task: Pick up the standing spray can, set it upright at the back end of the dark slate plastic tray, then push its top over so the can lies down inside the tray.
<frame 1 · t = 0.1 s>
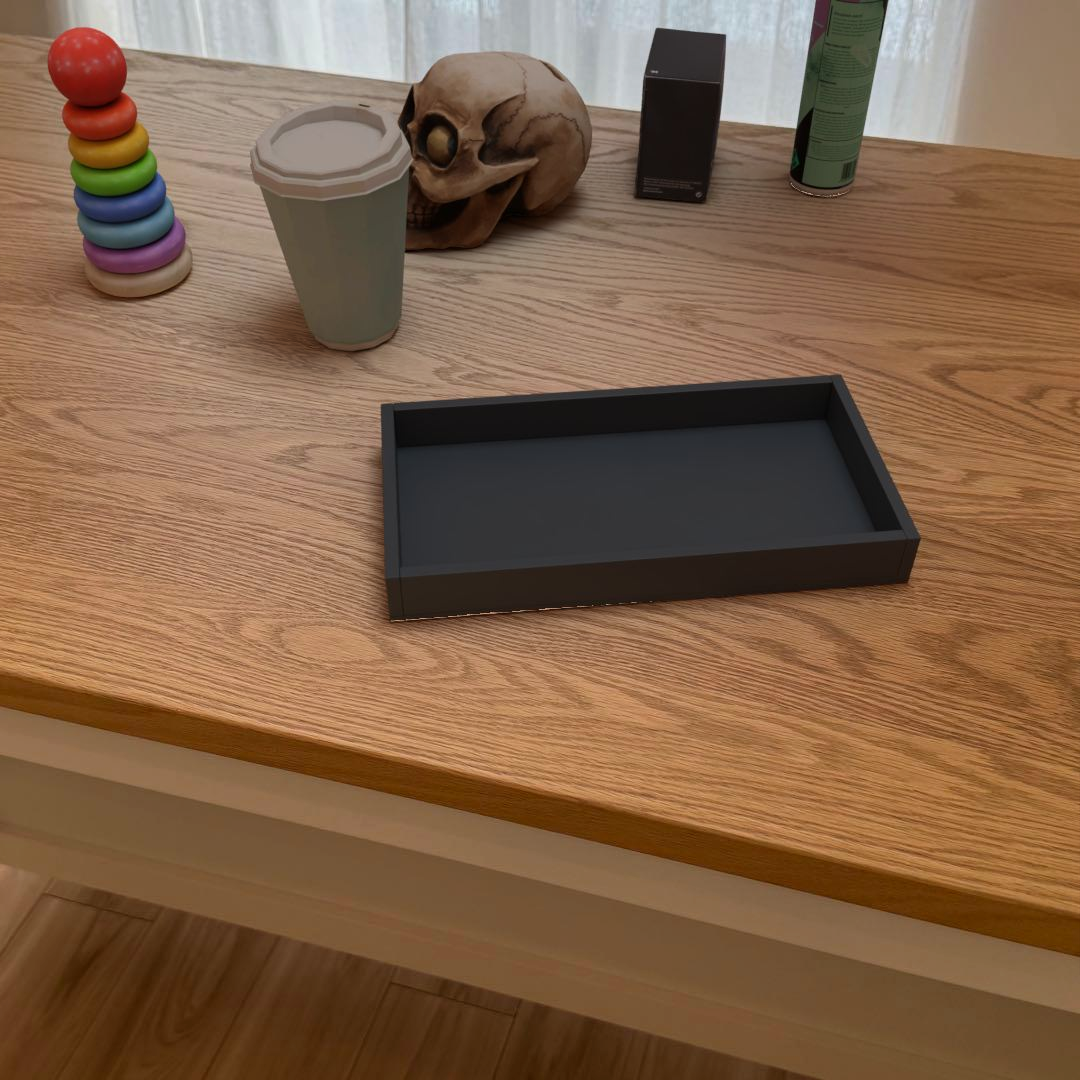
small box: (676, 175, 108), on the table
stacking toy: (142, 276, 96), on the table
disposable coffee cup: (351, 329, 90), on the table
spray can: (820, 184, 107), on the table
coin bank: (473, 214, 103), on the table
tray: (631, 510, 76), on the table
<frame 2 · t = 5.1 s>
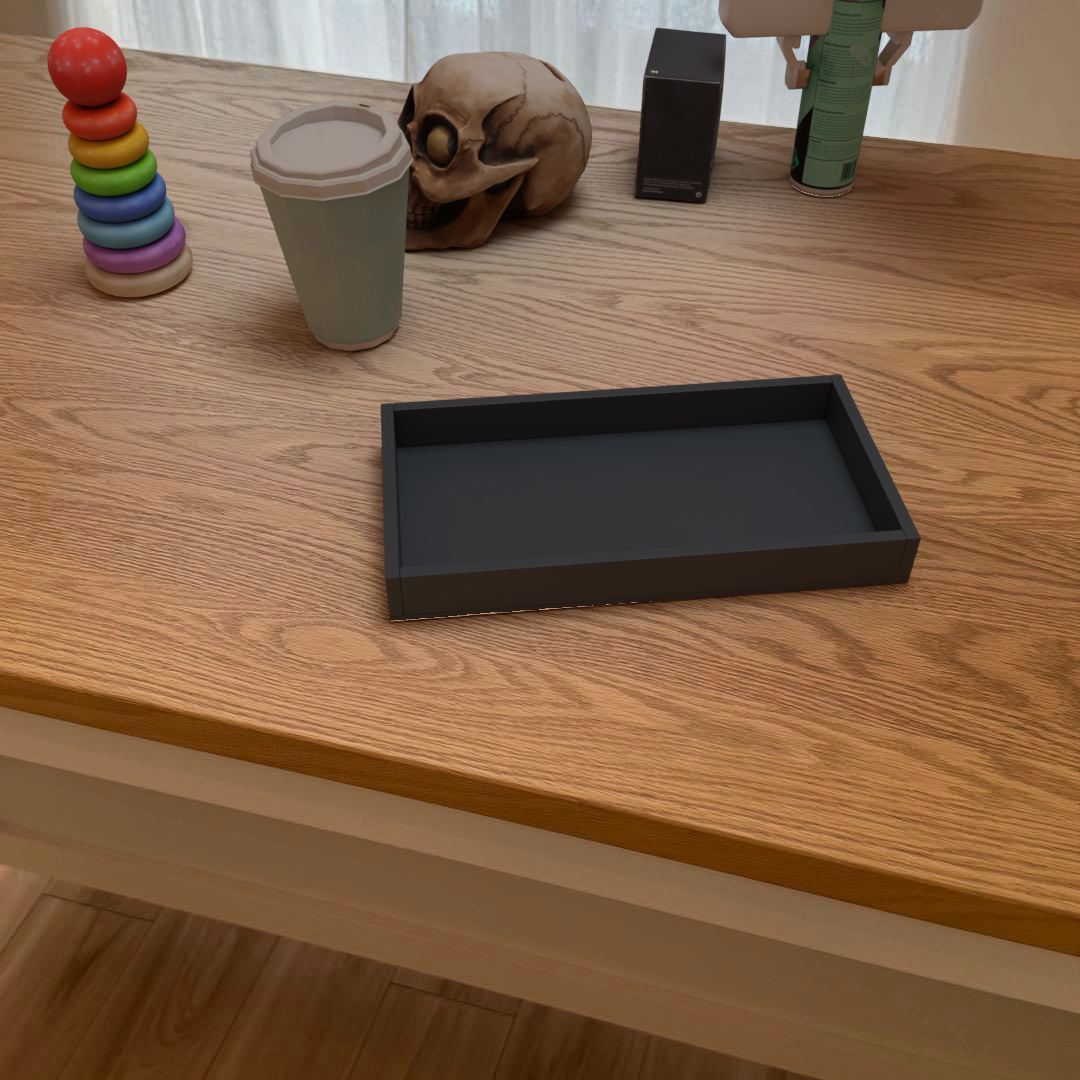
hand: (835, 85, 101), 8 cm above the table, tool pointing down, fingers closed on spray can, 5 cm apart
spray can: (820, 185, 107), on the table, touching arm, gripper
everything else where it was.
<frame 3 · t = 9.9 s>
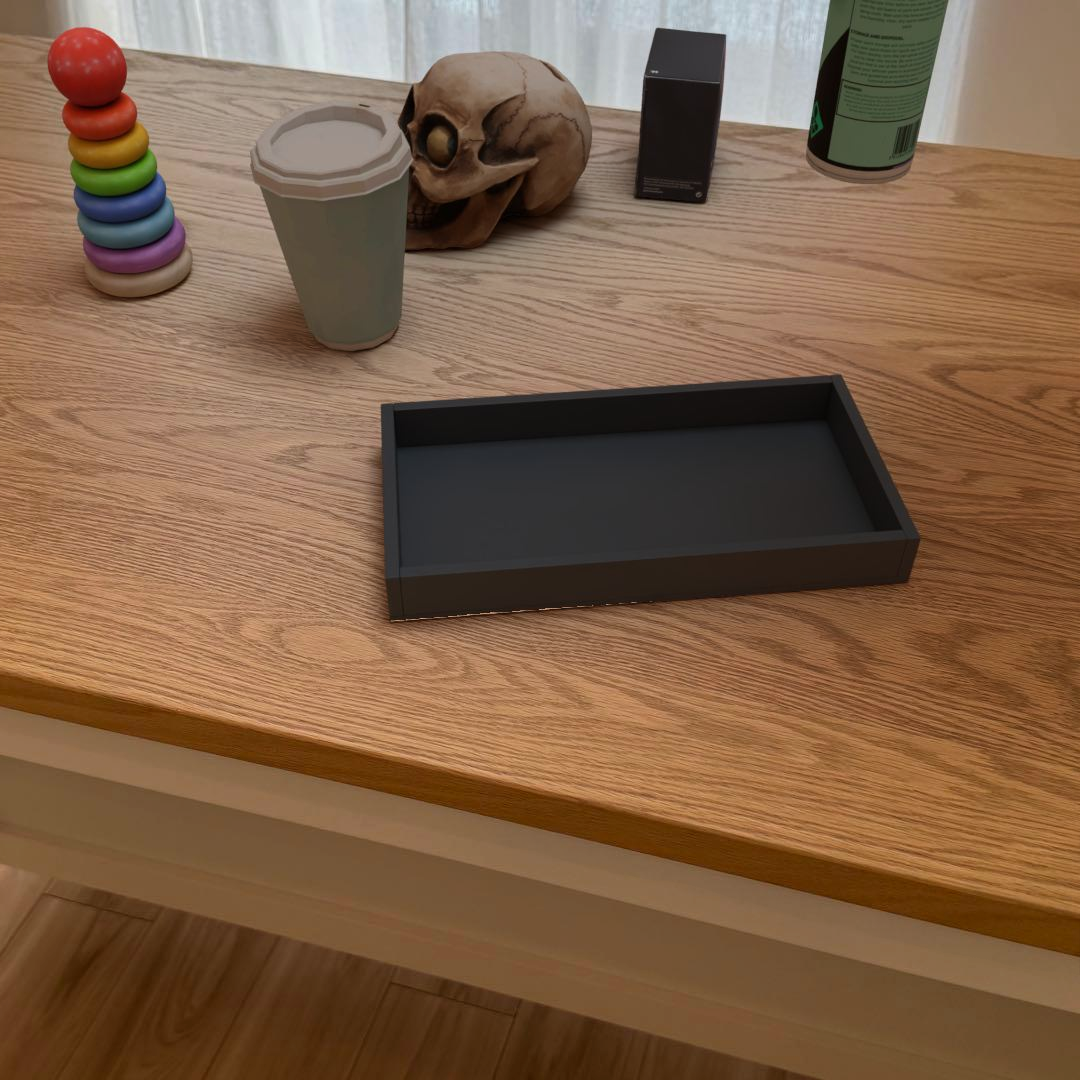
spray can: (857, 164, 65), point 20 cm above the table, touching arm, gripper
everything else where it was.
when the fingers open (9 cm above the table, at t = 14.9 s): spray can stays where it is, resting on tray.
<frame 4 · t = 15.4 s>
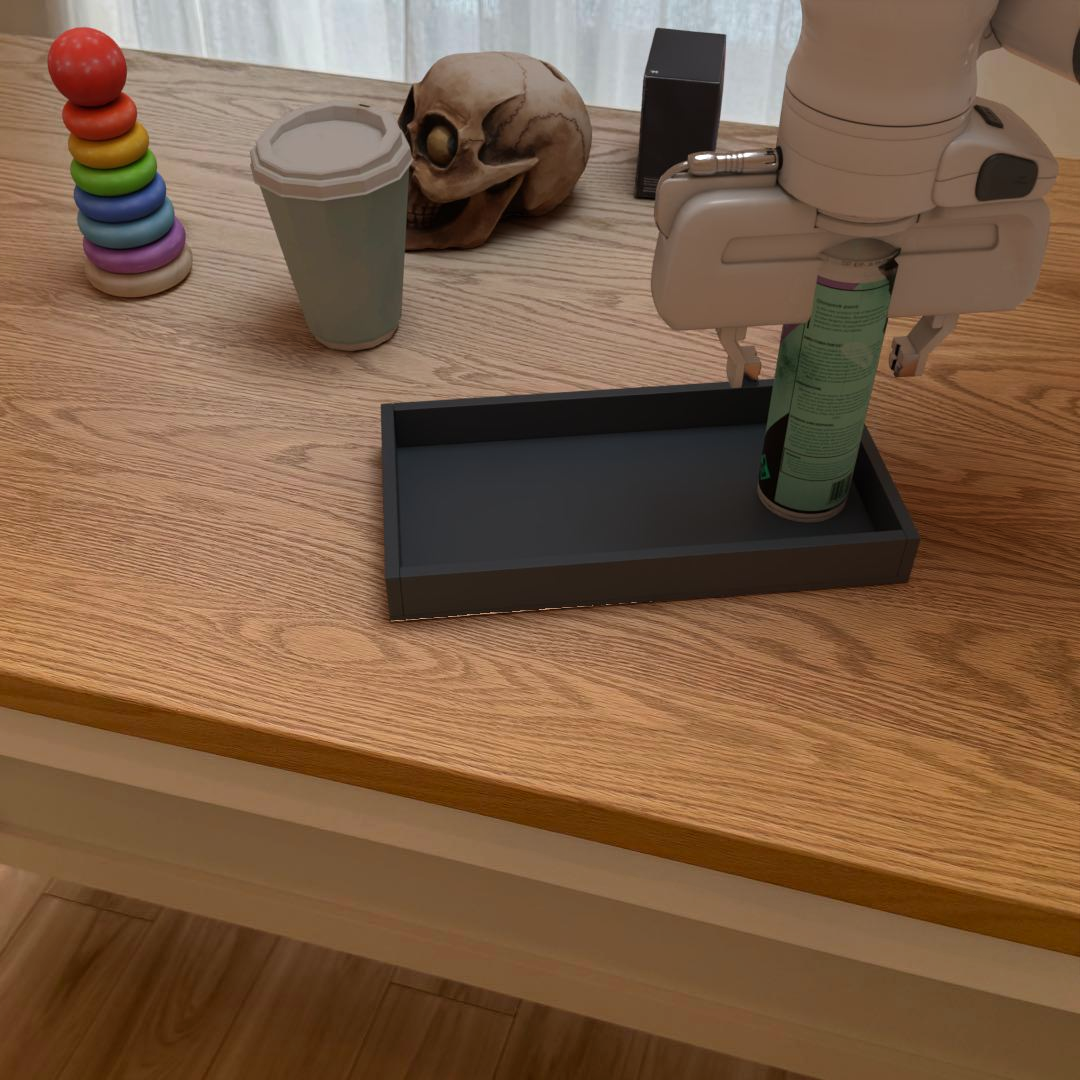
hand: (823, 376, 70), 9 cm above the table, tool pointing down, fingers open, 8 cm apart
spray can: (801, 495, 76), resting on tray
everything else where it was.
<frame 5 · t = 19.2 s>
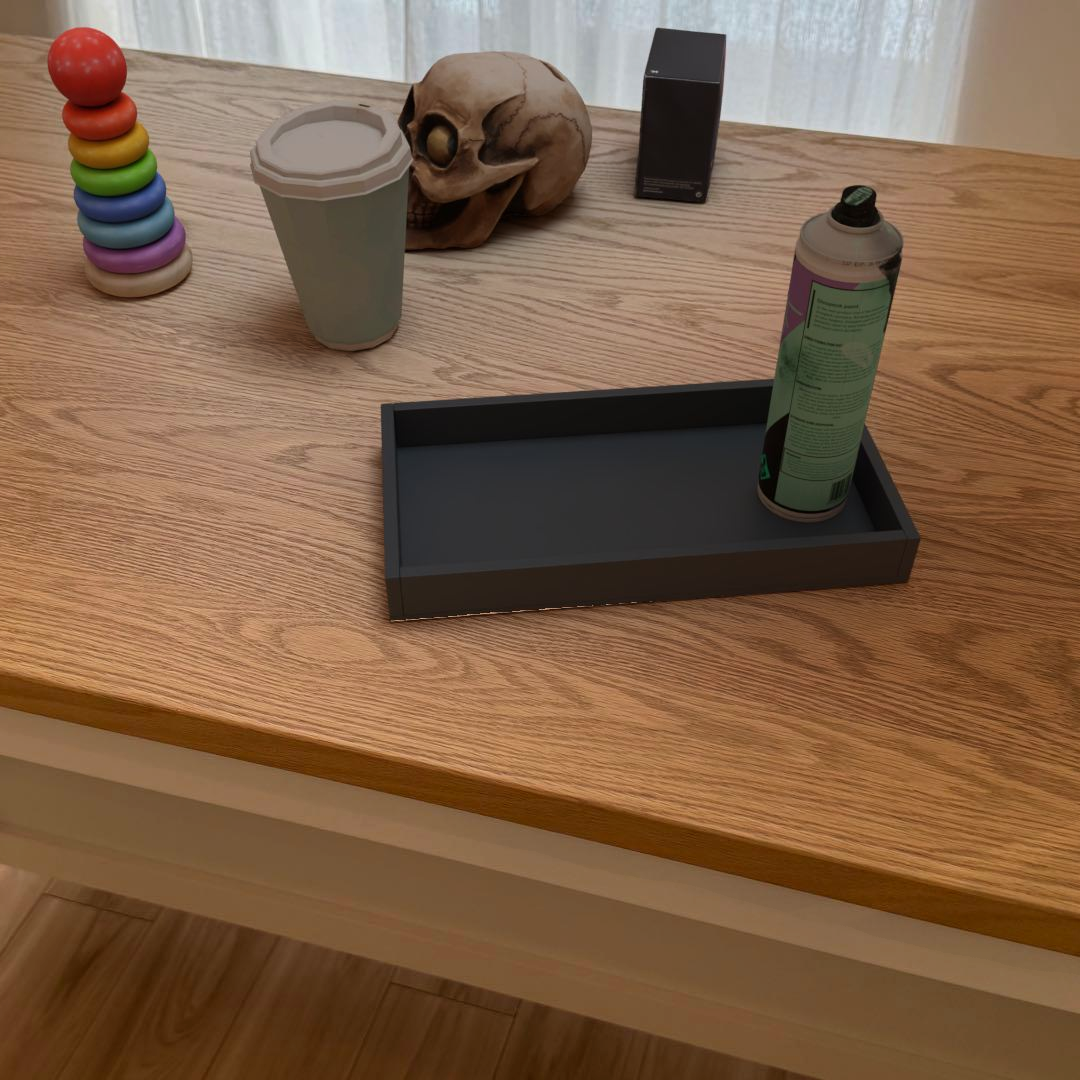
nothing on the table moved.
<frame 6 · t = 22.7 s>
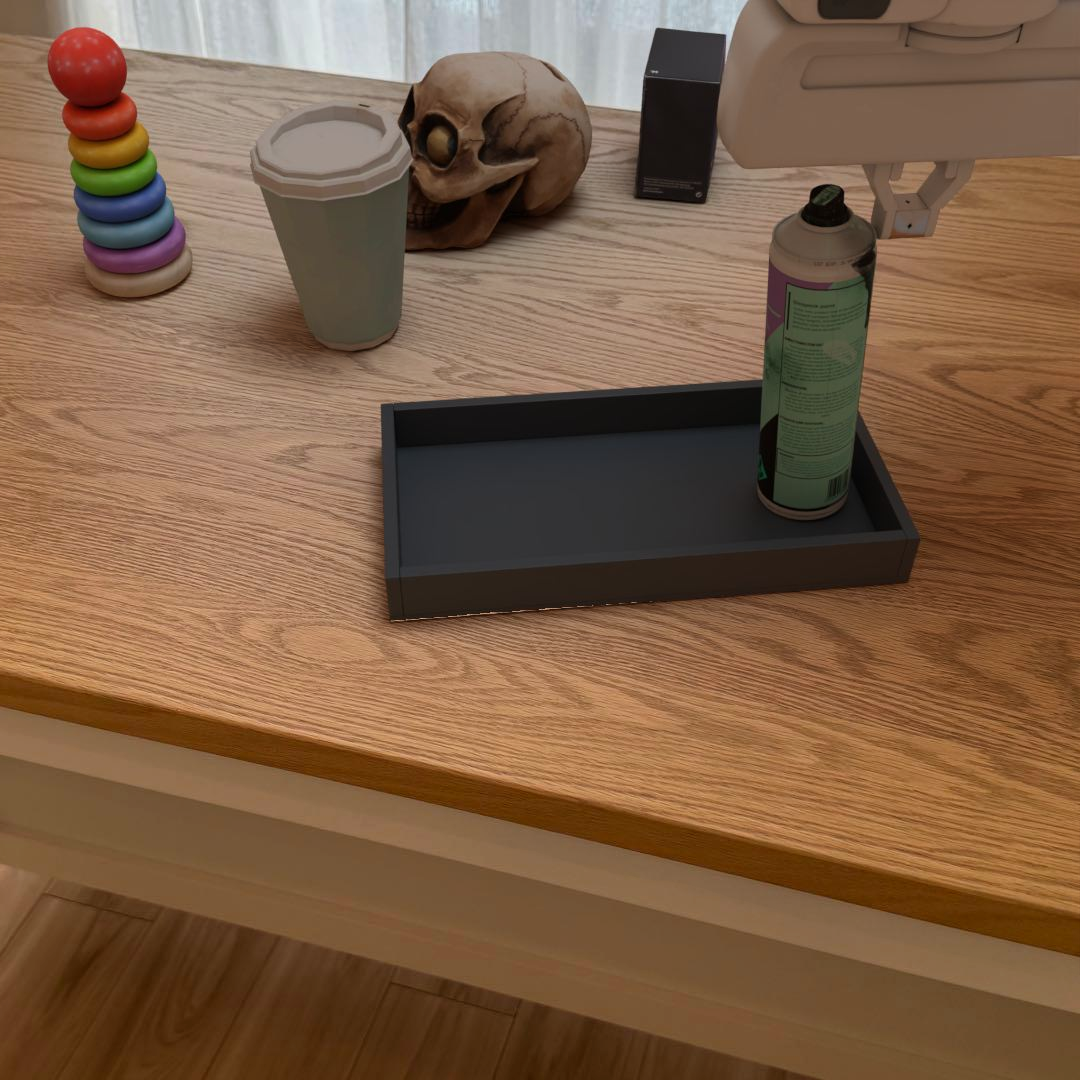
hand: (900, 233, 64), 18 cm above the table, tool pointing down, fingers closed
spray can: (801, 492, 76), point 1 cm above the table, touching gripper, tray
everything else where it was.
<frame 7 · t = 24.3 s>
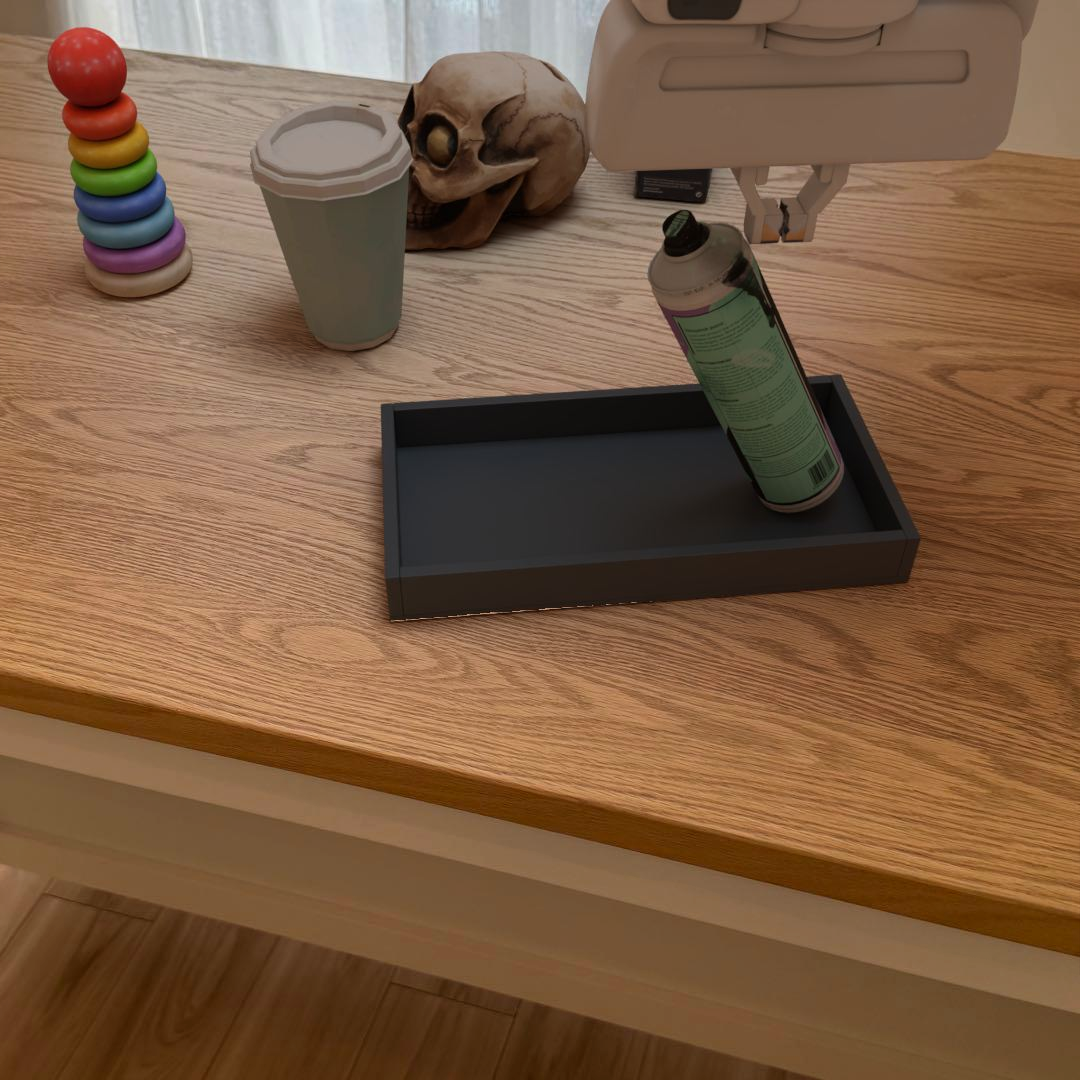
hand: (777, 238, 64), 18 cm above the table, tool pointing down, fingers closed
spray can: (801, 480, 75), point 2 cm above the table, touching gripper, tray
everything else where it was.
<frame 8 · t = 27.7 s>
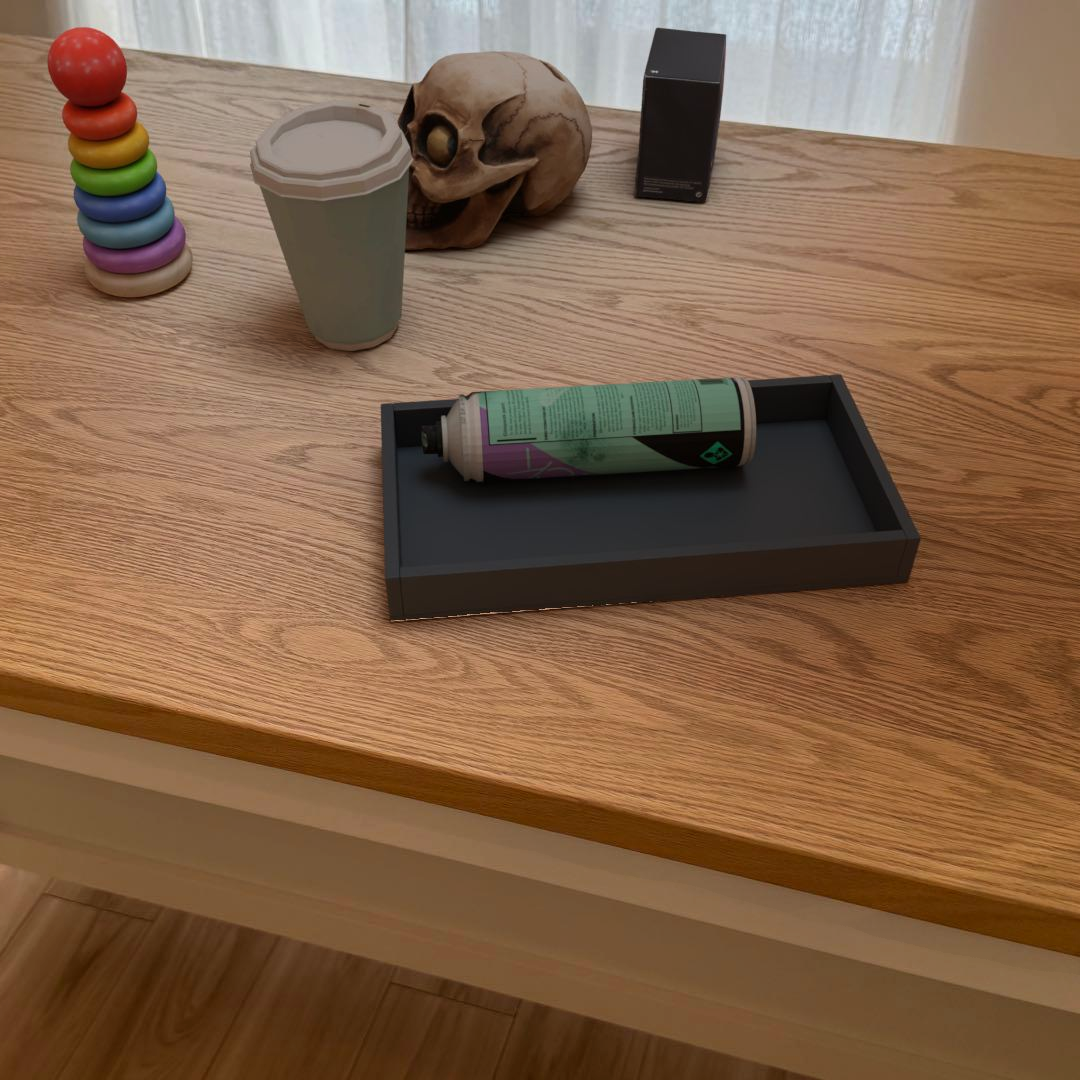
spray can: (748, 421, 77), point 3 cm above the table, touching tray
everything else where it was.
at the end: spray can tilted 90°; spray can inside the target area in the tray (8.7 cm from its centre), point 3.2 cm above the tray's base; the gripper is holding nothing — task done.
